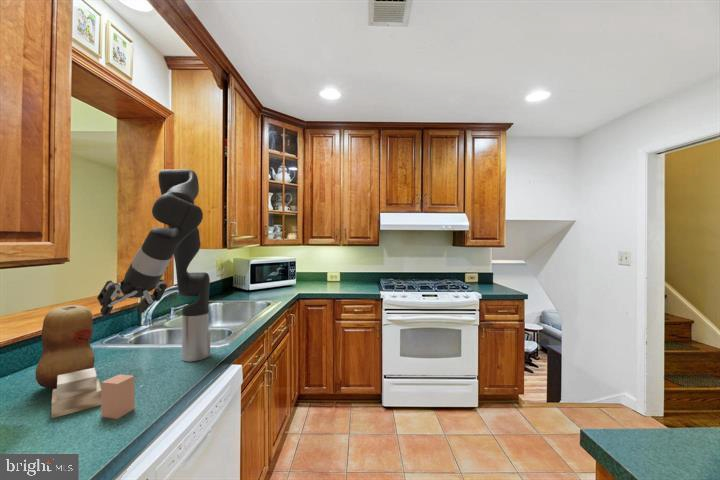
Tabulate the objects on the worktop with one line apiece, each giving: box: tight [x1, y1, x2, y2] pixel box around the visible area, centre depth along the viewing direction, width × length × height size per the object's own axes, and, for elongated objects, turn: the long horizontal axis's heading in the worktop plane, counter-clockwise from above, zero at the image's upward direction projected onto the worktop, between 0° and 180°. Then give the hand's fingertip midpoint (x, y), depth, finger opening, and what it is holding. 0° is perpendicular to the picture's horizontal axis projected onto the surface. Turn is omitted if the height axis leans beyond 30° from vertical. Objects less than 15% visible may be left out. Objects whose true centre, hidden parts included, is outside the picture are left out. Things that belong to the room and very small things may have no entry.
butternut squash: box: [35, 304, 96, 390], centre depth 100 cm, size 14×13×25 cm
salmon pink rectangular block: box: [100, 373, 136, 420], centre depth 85 cm, size 5×5×9 cm
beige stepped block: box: [51, 367, 101, 419], centre depth 89 cm, size 10×10×8 cm
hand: (123, 312), depth 84 cm, fingers open, 8 cm apart
